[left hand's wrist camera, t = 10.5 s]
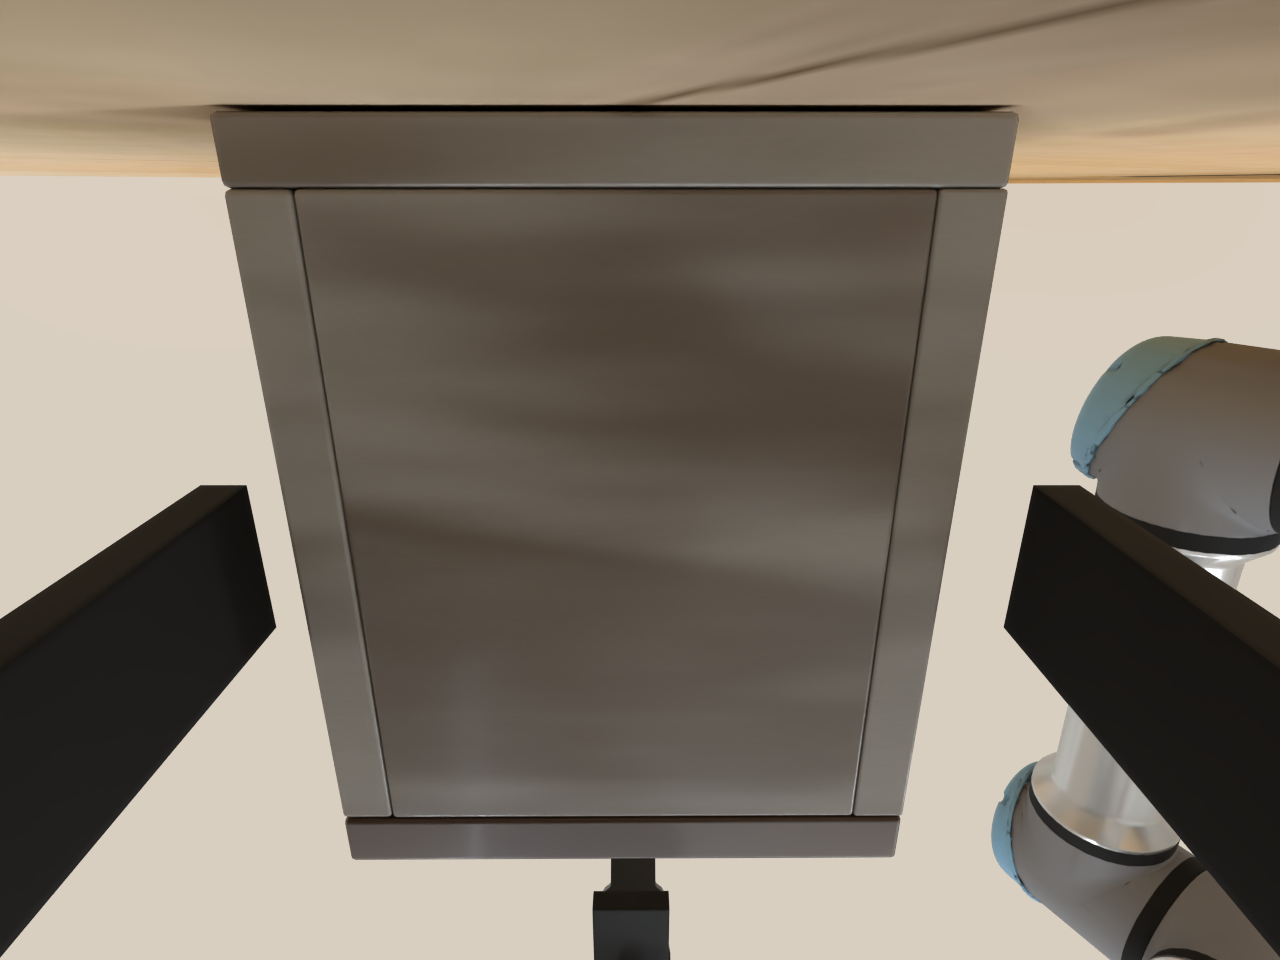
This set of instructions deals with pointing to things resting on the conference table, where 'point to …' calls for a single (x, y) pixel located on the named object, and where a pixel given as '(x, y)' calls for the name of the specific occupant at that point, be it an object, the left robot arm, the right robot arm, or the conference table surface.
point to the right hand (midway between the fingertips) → (631, 761)
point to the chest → (618, 441)
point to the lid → (622, 837)
